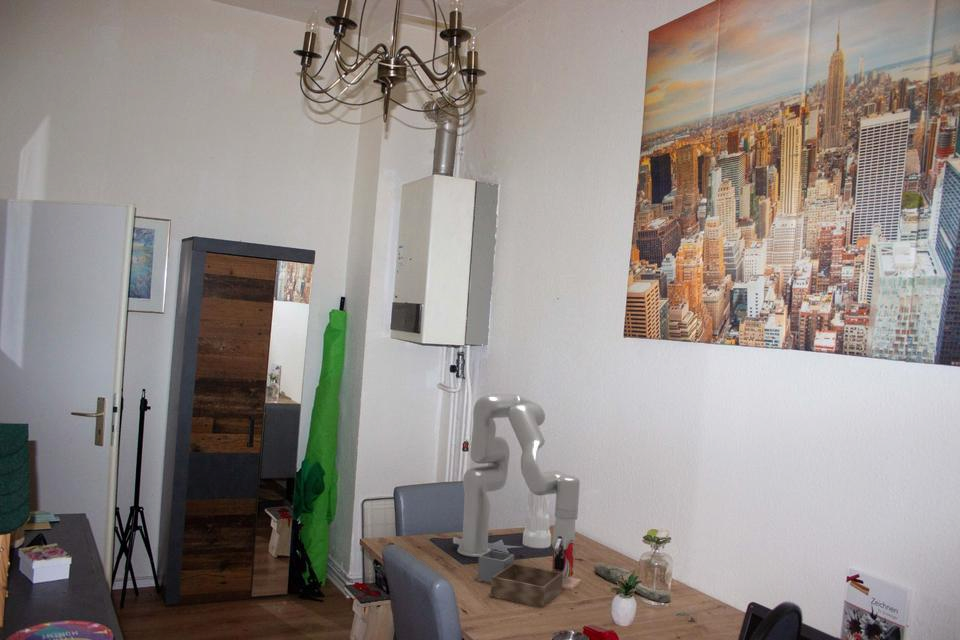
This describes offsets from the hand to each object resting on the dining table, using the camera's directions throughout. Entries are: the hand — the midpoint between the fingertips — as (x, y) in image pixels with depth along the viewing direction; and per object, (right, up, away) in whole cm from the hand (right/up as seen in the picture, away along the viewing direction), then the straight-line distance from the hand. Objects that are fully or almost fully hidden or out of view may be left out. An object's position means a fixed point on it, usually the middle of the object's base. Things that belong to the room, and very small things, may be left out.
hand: (562, 566), depth 268 cm
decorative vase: (-6, -6, +45) cm, 46 cm away
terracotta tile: (0, -6, 0) cm, 6 cm away
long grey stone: (+23, -8, +2) cm, 24 cm away
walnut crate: (-13, -5, -13) cm, 19 cm away
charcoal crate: (-23, -4, -1) cm, 23 cm away
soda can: (0, -3, 0) cm, 3 cm away
